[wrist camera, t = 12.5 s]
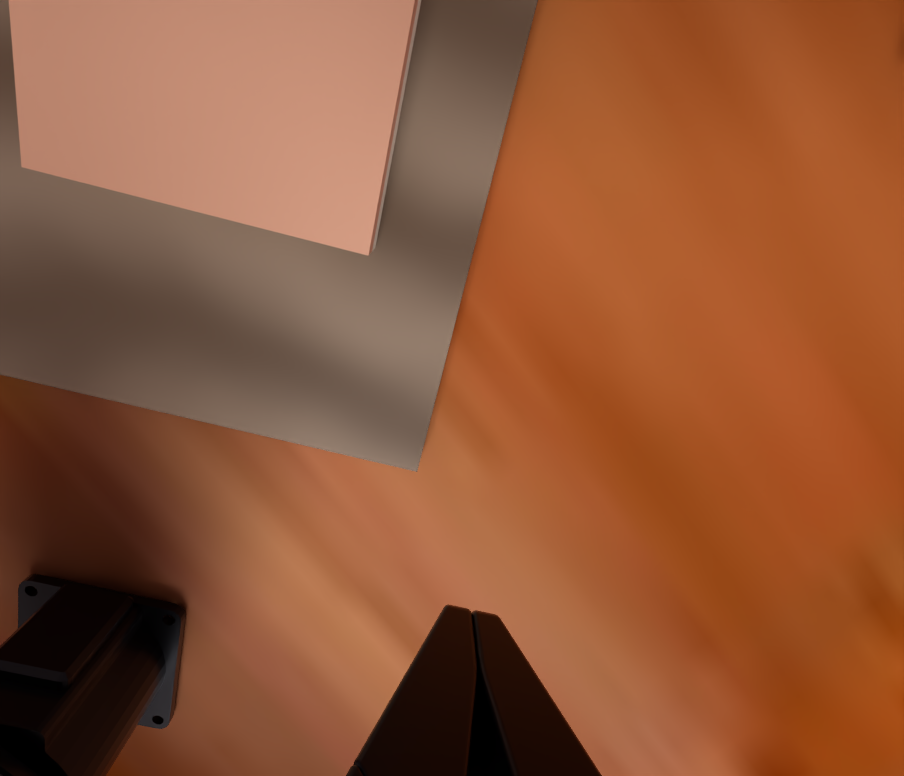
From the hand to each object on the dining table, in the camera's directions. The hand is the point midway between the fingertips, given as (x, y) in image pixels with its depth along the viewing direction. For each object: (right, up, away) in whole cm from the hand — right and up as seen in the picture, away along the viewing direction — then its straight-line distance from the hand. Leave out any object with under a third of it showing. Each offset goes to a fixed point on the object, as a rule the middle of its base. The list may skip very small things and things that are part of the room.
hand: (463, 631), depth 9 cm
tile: (-7, +12, +6) cm, 15 cm away
